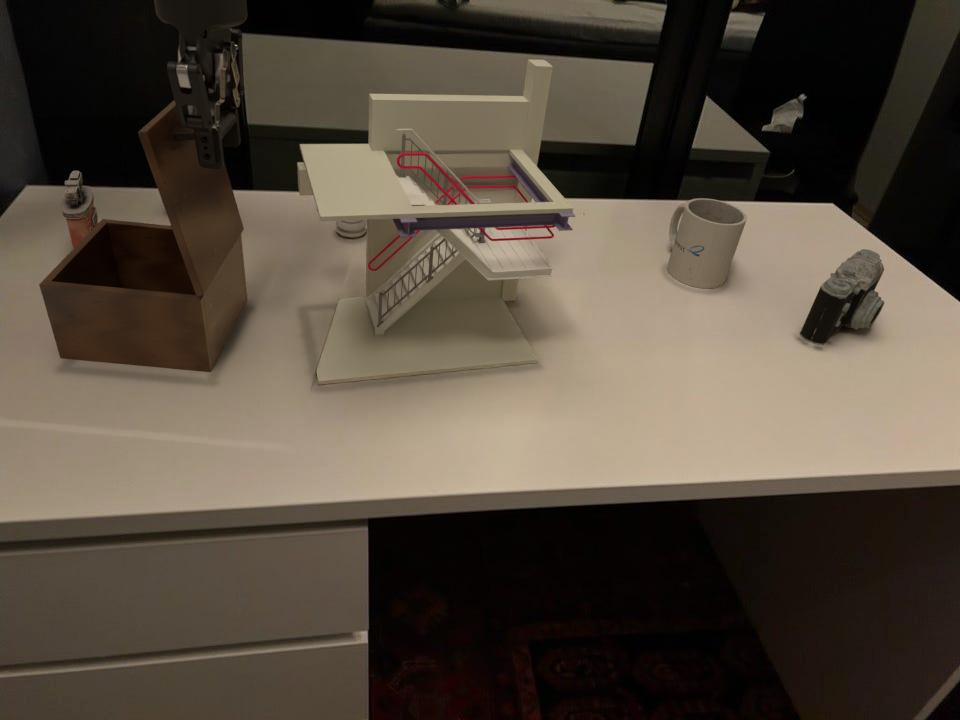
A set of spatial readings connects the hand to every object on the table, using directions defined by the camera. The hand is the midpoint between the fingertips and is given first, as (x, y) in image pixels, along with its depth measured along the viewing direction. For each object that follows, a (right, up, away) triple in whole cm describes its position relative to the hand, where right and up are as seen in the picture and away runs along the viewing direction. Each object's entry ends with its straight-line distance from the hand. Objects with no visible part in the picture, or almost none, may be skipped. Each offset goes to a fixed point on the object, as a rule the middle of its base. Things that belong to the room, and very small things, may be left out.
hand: (221, 155), depth 72 cm
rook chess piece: (+6, -1, +37) cm, 37 cm away
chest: (-11, -17, +13) cm, 24 cm away
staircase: (+19, -17, +17) cm, 31 cm away
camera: (+75, -16, +30) cm, 82 cm away
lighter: (-26, -6, +25) cm, 36 cm away
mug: (+57, -6, +39) cm, 69 cm away
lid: (-3, -3, +2) cm, 5 cm away
